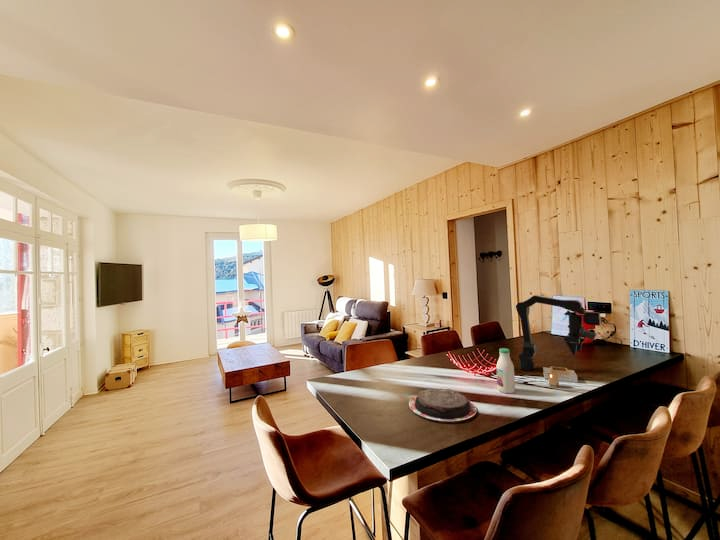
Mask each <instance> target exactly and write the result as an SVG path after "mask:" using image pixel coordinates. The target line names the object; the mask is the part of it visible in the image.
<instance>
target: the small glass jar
mask: <svg viewBox="0 0 720 540" xmlns="http://www.w3.org/2000/svg"><path fill="white" fill-rule="evenodd" d="M559 383H560V381H559V380H558V374H557V373H549V380H548V386H549V387H552V388H560V384H559Z"/></svg>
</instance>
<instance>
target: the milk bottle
mask: <svg viewBox="0 0 720 540" xmlns="http://www.w3.org/2000/svg"><path fill="white" fill-rule="evenodd" d="M498 351H499V357H498V359H497V363H496V384H497V385H496V388H497V391H499V392H501V393H502V394H503V393H505V394H515V392H516V381H515V367H514V366H515V365H514V363H513V361H512V359H511V357H510V355H511V353H510V352H511V351H510V349H509V348H505V347H504V348H503V347H500V348H499V349H498Z"/></svg>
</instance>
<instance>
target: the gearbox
mask: <svg viewBox="0 0 720 540" xmlns="http://www.w3.org/2000/svg"><path fill="white" fill-rule="evenodd" d="M542 373H543V377H544V380H547V381H549V373H557V374H558V380H559V382H564V383H565V382H566V383H574V384H578V383H579V382H578V375H577V374H576V371H575V370H572V369H568V368H567V367H560V366H549V367H544V366H543V367H542Z"/></svg>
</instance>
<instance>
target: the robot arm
mask: <svg viewBox="0 0 720 540" xmlns="http://www.w3.org/2000/svg"><path fill="white" fill-rule="evenodd" d="M536 303H537V304H542V305H549V306H553V307H560V308H562V309H565V310H567V311H566V312H564V313H563V315H565V316H568V325H567V328H568V331H569V332H568V334H567V335H566V336H564V337H563V341H564V342H565V344H566V345H567V348H568V349H569V350H570V353H571V354H572V355H573V356H575V355H576V353H577V352H579V353H580V352H581V350H582V346H583V342H585V341H586V340H587V339H588V340H590V341H594V340H595V338H596V336H597V333H596V330H595V329H593V328H591V329H585V326H584V325H583V324H585V325H587V326H597V327H599V326H601V317H600V312H599V311H598V312H597V311H596V312H593V311H592V312H591V311H587V310H586V309H585V308H584V307H583V303H582V302H581V301H579V300H578V299H577V300H576V299H559V298H554V297H553V298H552V297H548V296H547V297H546V296H540V295H537V294H536V295H532V296H531V297H530V298H527V300H525V301H520V302H518V303H517V304H516V305H515V309H516V311H517V314H518V316H519V318H520V319H519V320H520V325H521V330H522V331H521V332H522V337H523V338H522V339H523V344H522V353H521V354H519V355H518V359H519V364H520V366H519V369H520V371H527V372H534V370H535V366H534V365H535V364H534V363H535V362H534V361H533V357H534V356H536V354H537V352H538V351H539V350H538V348H537V345H538V344H537V343H534V342H533V338H532V333H531V332H532V330H531V326H530V325H531V324H530V319H529V316H530V307H532V306H533V305H535V304H536Z"/></svg>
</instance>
